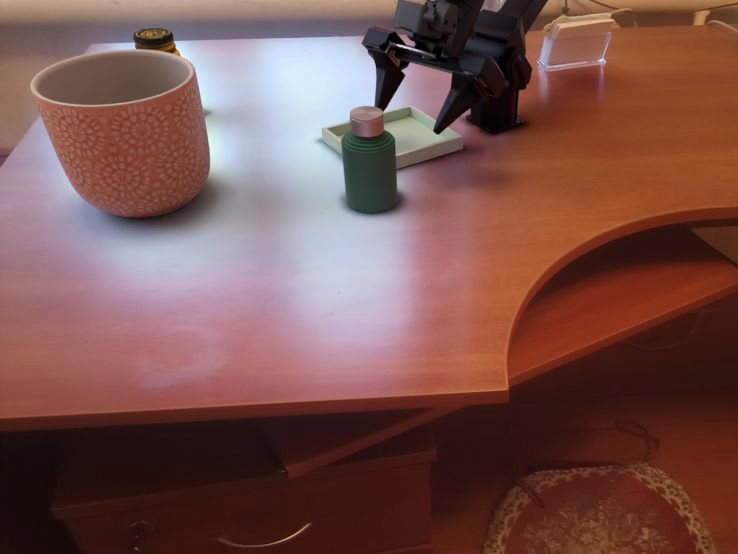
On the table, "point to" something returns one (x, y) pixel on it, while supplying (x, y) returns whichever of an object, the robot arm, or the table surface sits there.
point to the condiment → (155, 40)
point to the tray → (405, 136)
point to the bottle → (370, 172)
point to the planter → (127, 129)
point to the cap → (366, 121)
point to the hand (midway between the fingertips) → (405, 123)
